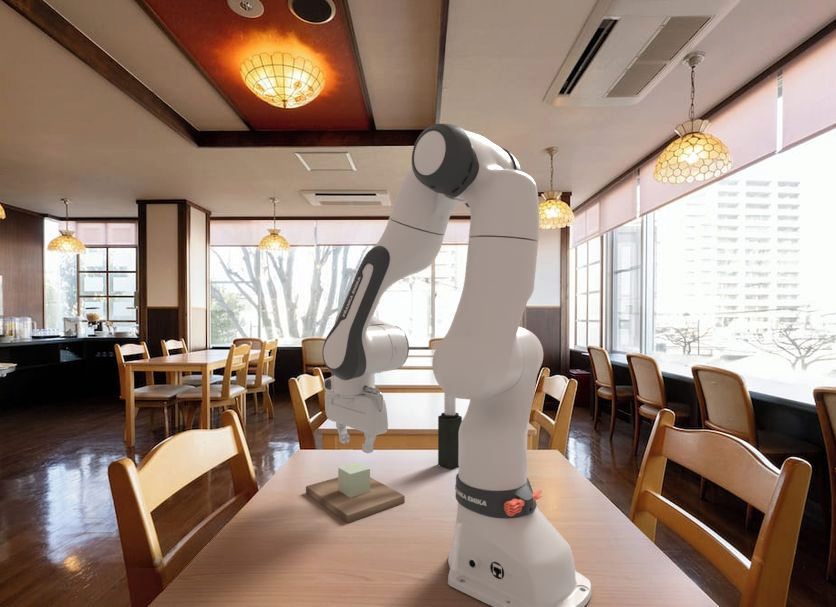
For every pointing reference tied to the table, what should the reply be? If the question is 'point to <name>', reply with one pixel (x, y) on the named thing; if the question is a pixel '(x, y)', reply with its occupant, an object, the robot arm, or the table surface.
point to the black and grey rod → (448, 434)
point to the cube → (354, 479)
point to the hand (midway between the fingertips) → (355, 447)
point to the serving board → (354, 499)
